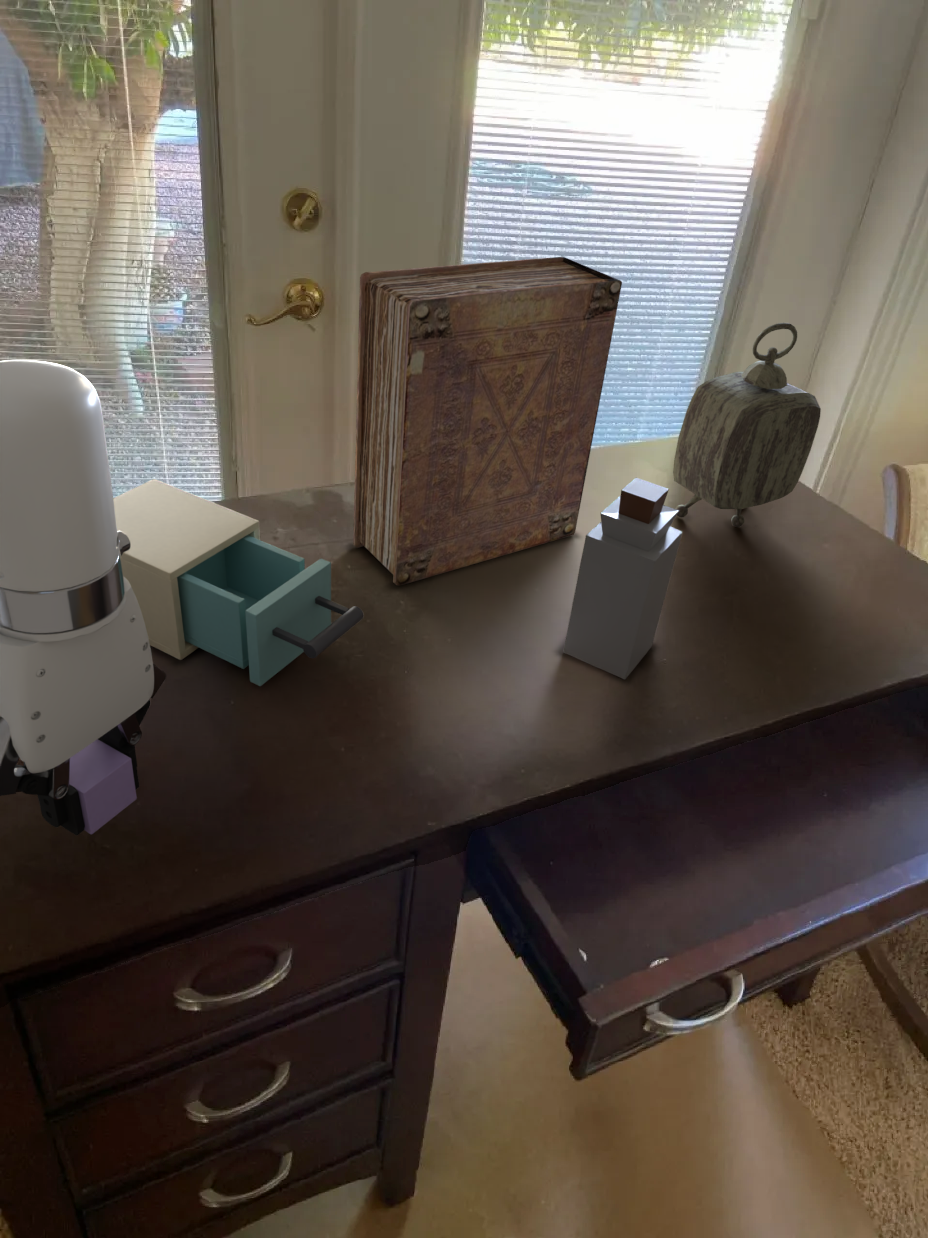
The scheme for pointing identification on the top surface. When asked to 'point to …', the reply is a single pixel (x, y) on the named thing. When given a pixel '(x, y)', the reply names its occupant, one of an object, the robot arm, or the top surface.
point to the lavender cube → (102, 783)
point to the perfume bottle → (623, 580)
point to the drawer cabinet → (171, 551)
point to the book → (476, 408)
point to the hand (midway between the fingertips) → (93, 800)
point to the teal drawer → (261, 607)
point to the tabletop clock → (746, 435)
